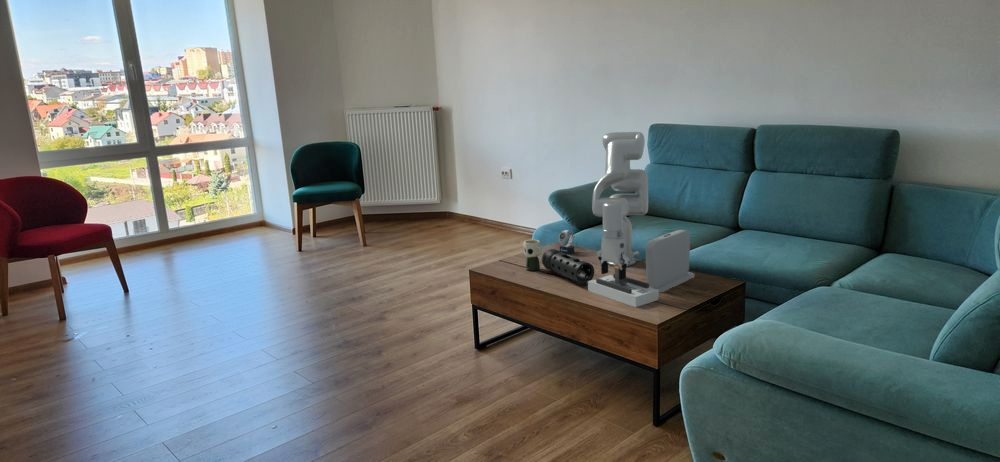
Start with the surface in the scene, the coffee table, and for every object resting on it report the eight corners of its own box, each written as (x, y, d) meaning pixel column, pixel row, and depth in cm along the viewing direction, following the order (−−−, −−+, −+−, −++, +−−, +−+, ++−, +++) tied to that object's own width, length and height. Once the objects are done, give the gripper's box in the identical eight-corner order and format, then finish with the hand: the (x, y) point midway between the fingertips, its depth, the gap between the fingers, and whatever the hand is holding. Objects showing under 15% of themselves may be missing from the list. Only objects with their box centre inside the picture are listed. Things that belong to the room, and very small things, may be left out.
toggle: (619, 281, 259) (619, 262, 257) (627, 283, 256) (626, 265, 254) (612, 283, 257) (612, 265, 255) (619, 286, 254) (619, 267, 252)
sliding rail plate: (615, 277, 266) (615, 273, 265) (649, 287, 251) (649, 283, 251) (596, 283, 260) (596, 279, 260) (629, 293, 245) (629, 289, 245)
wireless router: (677, 271, 283) (678, 225, 278) (699, 275, 276) (699, 228, 271) (636, 289, 262) (635, 240, 257) (658, 294, 255) (658, 244, 250)
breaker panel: (610, 284, 270) (610, 274, 269) (658, 299, 249) (658, 289, 248) (588, 290, 264) (587, 280, 263) (635, 307, 243) (635, 296, 242)
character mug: (518, 269, 298) (517, 241, 295) (530, 265, 303) (528, 238, 300) (536, 273, 290) (534, 245, 287) (547, 269, 295) (546, 241, 292)
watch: (557, 253, 321) (556, 231, 318) (568, 250, 325) (568, 228, 323) (565, 255, 316) (564, 233, 314) (577, 251, 321) (576, 229, 319)
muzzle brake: (576, 288, 268) (575, 264, 265) (540, 272, 292) (539, 249, 289) (595, 284, 272) (594, 260, 269) (558, 268, 296) (558, 246, 294)
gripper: (636, 235, 250) (636, 278, 254) (604, 228, 264) (605, 269, 268) (621, 239, 246) (622, 283, 250) (590, 231, 260) (591, 273, 264)
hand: (613, 276), depth 259 cm, fingers open, 9 cm apart
